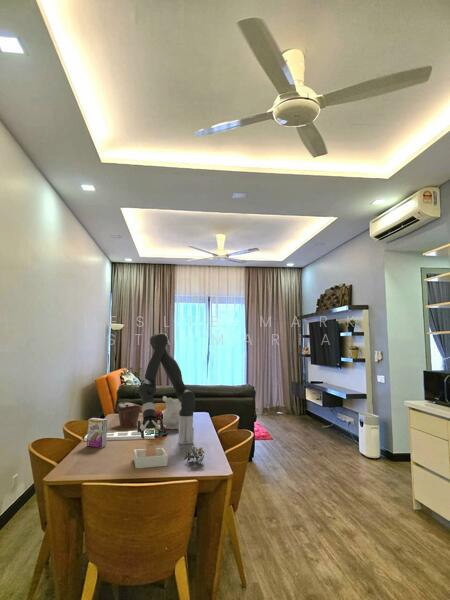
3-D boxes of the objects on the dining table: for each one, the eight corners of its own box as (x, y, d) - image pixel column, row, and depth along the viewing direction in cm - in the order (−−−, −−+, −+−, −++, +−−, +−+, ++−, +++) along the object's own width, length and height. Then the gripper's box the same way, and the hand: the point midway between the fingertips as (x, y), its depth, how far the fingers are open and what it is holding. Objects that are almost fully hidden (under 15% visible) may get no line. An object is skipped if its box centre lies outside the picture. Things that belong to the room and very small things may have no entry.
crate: (162, 457, 206) (163, 447, 207) (167, 465, 191) (167, 455, 192) (133, 459, 201) (133, 449, 202) (135, 468, 186) (136, 458, 187)
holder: (84, 441, 239) (84, 437, 239) (88, 435, 256) (89, 431, 257) (154, 439, 247) (154, 435, 247) (154, 433, 265) (154, 429, 265)
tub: (154, 458, 199) (154, 443, 200) (155, 461, 195) (155, 445, 196) (144, 459, 198) (145, 444, 199) (145, 462, 193) (146, 446, 194)
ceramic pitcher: (175, 425, 297) (174, 393, 301) (193, 426, 286) (192, 393, 290) (155, 430, 279) (155, 396, 284) (174, 431, 268) (173, 396, 273)
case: (138, 428, 279) (139, 403, 281) (112, 427, 279) (113, 403, 282) (144, 423, 296) (145, 401, 299) (119, 423, 297) (120, 400, 299)
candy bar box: (86, 446, 226) (87, 419, 228) (91, 444, 230) (93, 417, 232) (101, 448, 222) (102, 420, 224) (106, 446, 227) (107, 419, 229)
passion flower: (200, 475, 193) (203, 460, 187) (180, 471, 193) (182, 455, 187) (204, 457, 203) (207, 442, 197) (185, 453, 203) (187, 438, 197)
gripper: (137, 409, 209) (138, 434, 197) (162, 407, 214) (165, 432, 201) (136, 417, 213) (137, 442, 201) (160, 415, 218) (163, 440, 206)
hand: (151, 437), depth 201 cm, fingers open, 8 cm apart
